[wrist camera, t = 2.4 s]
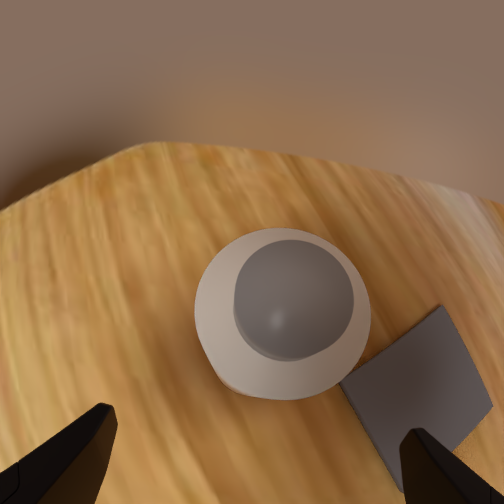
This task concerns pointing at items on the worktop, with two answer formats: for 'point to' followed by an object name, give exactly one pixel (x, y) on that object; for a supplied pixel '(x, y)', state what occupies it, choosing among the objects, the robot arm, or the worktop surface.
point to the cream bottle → (282, 314)
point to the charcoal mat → (418, 390)
